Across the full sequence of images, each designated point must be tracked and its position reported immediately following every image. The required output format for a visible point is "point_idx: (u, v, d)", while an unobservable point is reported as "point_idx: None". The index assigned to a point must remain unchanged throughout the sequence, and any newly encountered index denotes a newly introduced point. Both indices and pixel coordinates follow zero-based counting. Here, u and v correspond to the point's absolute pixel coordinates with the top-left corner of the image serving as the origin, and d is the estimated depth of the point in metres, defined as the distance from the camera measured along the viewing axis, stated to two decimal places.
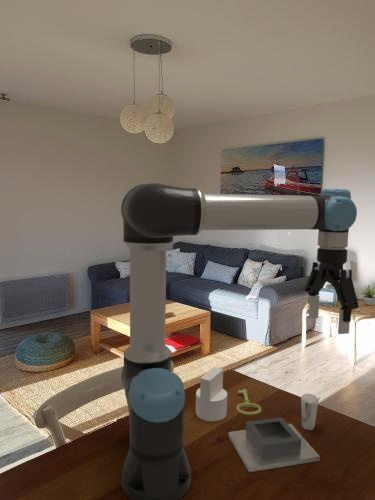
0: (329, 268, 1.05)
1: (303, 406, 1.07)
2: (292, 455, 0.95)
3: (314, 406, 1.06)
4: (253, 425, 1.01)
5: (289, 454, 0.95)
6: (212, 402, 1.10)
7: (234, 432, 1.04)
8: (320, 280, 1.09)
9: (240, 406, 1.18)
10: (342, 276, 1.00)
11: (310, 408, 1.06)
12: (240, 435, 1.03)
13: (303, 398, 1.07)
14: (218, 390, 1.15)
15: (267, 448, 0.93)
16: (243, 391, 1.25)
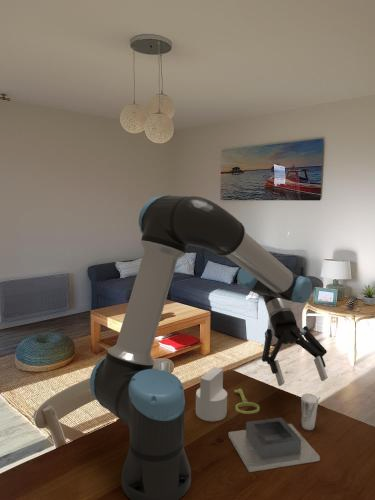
0: (290, 329, 1.22)
1: (303, 406, 1.07)
2: (292, 455, 0.95)
3: (314, 406, 1.06)
4: (253, 425, 1.01)
5: (289, 454, 0.95)
6: (212, 402, 1.10)
7: (234, 432, 1.04)
8: (282, 342, 1.18)
9: (238, 406, 1.18)
10: (308, 330, 1.22)
11: (310, 408, 1.06)
12: (240, 435, 1.03)
13: (303, 398, 1.07)
14: (218, 390, 1.15)
15: (267, 448, 0.93)
16: (239, 390, 1.26)
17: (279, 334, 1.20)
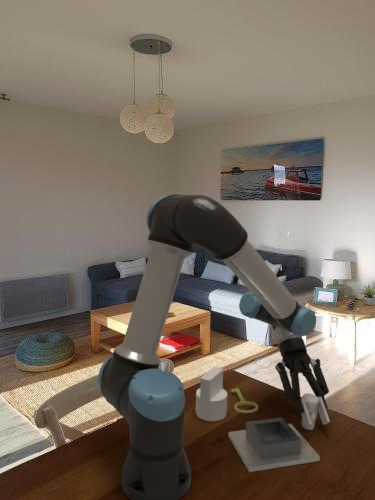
0: (300, 357, 1.14)
1: None
2: (292, 455, 0.95)
3: (315, 406, 1.06)
4: (253, 425, 1.01)
5: (289, 454, 0.95)
6: (212, 402, 1.10)
7: (234, 432, 1.04)
8: None
9: (237, 405, 1.19)
10: (318, 364, 1.14)
11: (310, 408, 1.06)
12: (240, 435, 1.03)
13: (304, 398, 1.07)
14: (218, 390, 1.15)
15: (267, 448, 0.93)
16: (236, 390, 1.26)
17: (288, 363, 1.13)
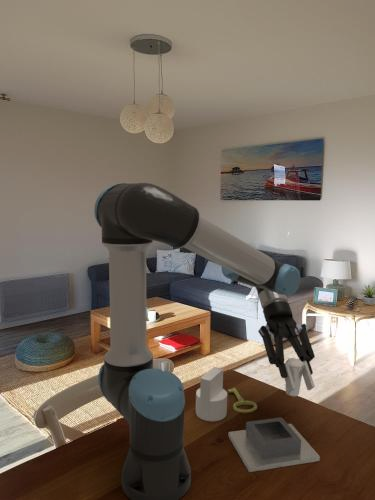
0: (285, 321, 1.08)
1: None
2: (292, 455, 0.95)
3: (299, 371, 1.00)
4: (253, 425, 1.01)
5: (289, 454, 0.95)
6: (212, 402, 1.10)
7: (234, 432, 1.04)
8: None
9: (236, 405, 1.19)
10: (304, 329, 1.08)
11: (294, 372, 1.00)
12: (240, 435, 1.03)
13: (288, 362, 1.01)
14: (218, 390, 1.15)
15: (267, 448, 0.93)
16: (233, 390, 1.26)
17: (272, 327, 1.06)
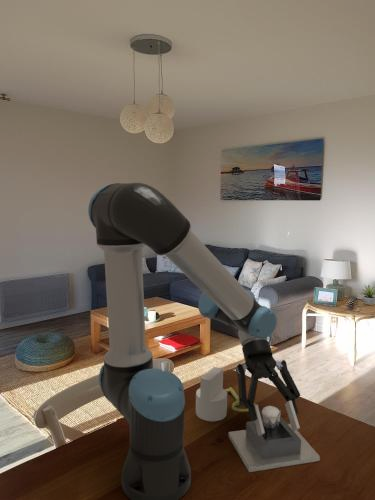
0: (264, 360, 1.05)
1: (264, 420, 0.98)
2: (292, 455, 0.95)
3: (276, 420, 0.97)
4: (253, 425, 1.01)
5: (289, 454, 0.95)
6: (212, 402, 1.10)
7: (234, 432, 1.04)
8: None
9: (234, 405, 1.19)
10: (285, 366, 1.05)
11: (271, 422, 0.97)
12: (240, 435, 1.03)
13: (263, 411, 0.98)
14: (218, 390, 1.15)
15: (267, 448, 0.93)
16: (230, 389, 1.26)
17: (251, 367, 1.03)
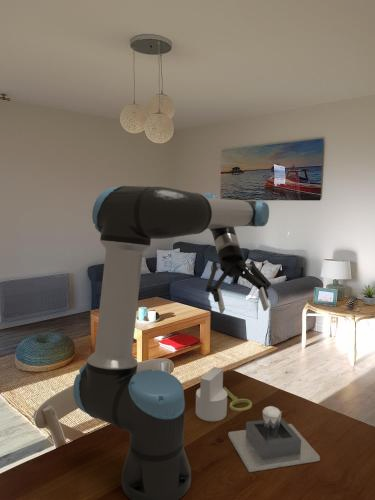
0: (236, 262, 1.24)
1: (264, 420, 0.98)
2: (292, 455, 0.95)
3: (276, 421, 0.97)
4: (253, 425, 1.01)
5: (289, 454, 0.95)
6: (212, 402, 1.10)
7: (234, 432, 1.04)
8: (227, 274, 1.21)
9: (232, 404, 1.19)
10: (253, 265, 1.25)
11: (271, 423, 0.97)
12: (240, 435, 1.03)
13: (264, 411, 0.98)
14: (218, 390, 1.15)
15: (267, 448, 0.93)
16: (224, 389, 1.26)
17: (224, 267, 1.22)
